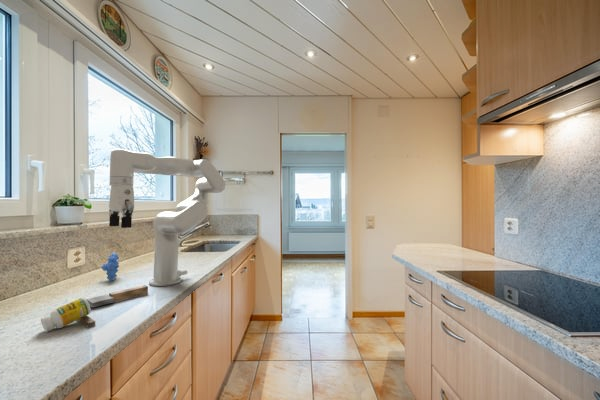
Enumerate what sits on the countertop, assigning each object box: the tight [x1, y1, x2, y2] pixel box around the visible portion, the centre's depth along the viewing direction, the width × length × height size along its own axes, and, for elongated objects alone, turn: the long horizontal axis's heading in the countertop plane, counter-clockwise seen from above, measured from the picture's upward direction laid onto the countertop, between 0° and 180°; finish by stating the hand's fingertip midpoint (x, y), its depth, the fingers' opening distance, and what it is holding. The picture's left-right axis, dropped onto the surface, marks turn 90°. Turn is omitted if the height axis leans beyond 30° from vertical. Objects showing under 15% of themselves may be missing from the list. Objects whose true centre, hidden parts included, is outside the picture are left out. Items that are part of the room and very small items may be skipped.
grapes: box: [100, 252, 120, 282], centre depth 117 cm, size 12×7×12 cm, turn 27°
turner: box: [86, 284, 149, 308], centre depth 93 cm, size 18×6×3 cm, turn 146°
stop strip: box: [77, 315, 96, 328], centre depth 75 cm, size 2×10×1 cm, turn 57°
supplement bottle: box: [40, 297, 92, 333], centre depth 72 cm, size 5×5×10 cm
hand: (120, 226), depth 98 cm, fingers open, 9 cm apart
